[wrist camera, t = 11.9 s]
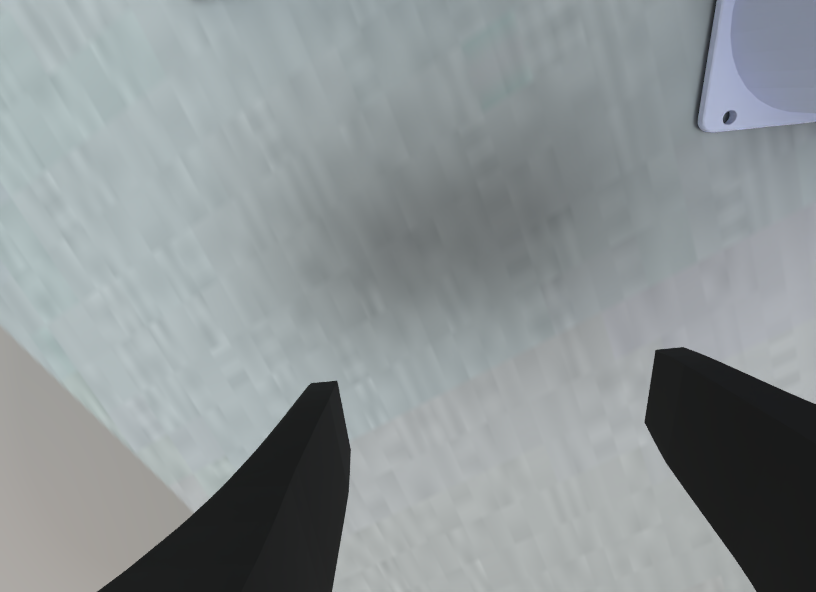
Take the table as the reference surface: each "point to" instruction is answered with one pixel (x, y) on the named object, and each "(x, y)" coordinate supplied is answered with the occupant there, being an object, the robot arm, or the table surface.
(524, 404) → the table surface
